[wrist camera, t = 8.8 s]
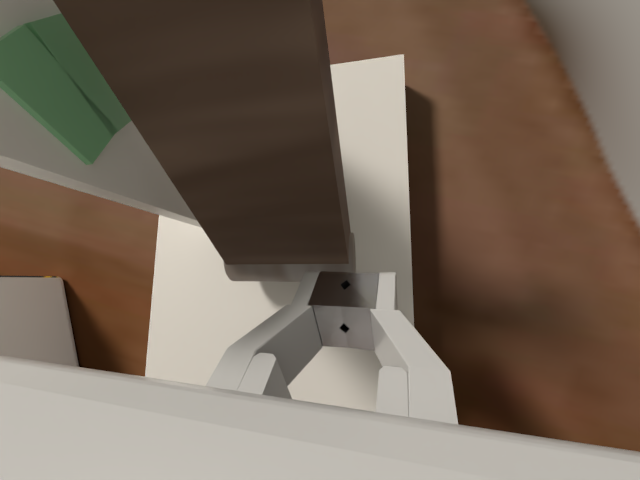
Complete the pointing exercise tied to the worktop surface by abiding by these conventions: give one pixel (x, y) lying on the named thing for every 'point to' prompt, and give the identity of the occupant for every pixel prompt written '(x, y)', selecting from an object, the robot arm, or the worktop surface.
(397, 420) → the robot arm
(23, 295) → the medicine bottle
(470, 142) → the worktop surface
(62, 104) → the stand
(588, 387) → the worktop surface
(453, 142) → the worktop surface
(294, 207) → the lever
